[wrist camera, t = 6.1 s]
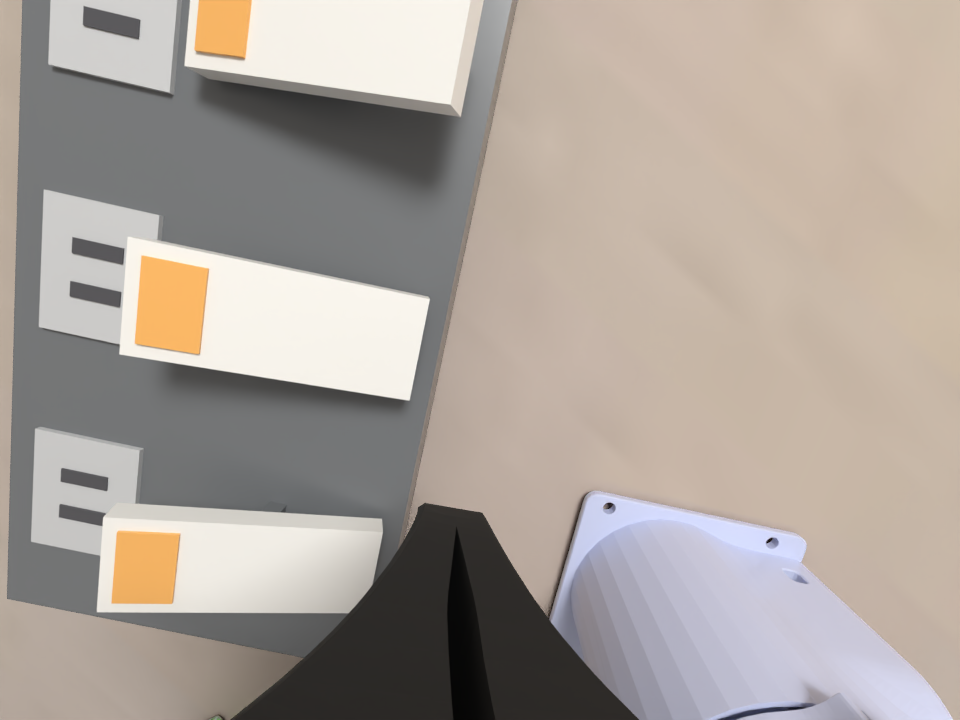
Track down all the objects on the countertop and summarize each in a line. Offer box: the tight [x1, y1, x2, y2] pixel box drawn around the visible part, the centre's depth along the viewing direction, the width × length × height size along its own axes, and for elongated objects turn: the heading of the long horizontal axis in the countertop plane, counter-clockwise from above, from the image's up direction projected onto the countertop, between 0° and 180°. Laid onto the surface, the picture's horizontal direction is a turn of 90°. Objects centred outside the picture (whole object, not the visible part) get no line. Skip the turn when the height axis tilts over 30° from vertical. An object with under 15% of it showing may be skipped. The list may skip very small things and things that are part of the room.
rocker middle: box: [119, 237, 430, 401], centre depth 14 cm, size 8×3×1 cm, turn 78°
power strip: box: [7, 0, 518, 658], centre depth 16 cm, size 14×26×4 cm, turn 167°
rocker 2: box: [97, 503, 383, 613], centre depth 15 cm, size 8×3×1 cm, turn 77°
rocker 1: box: [184, 0, 484, 117], centre depth 12 cm, size 8×3×1 cm, turn 77°
